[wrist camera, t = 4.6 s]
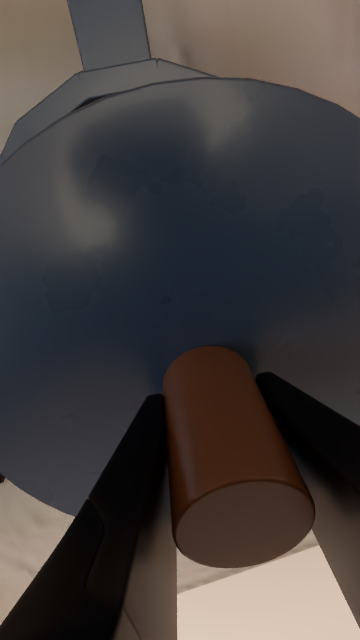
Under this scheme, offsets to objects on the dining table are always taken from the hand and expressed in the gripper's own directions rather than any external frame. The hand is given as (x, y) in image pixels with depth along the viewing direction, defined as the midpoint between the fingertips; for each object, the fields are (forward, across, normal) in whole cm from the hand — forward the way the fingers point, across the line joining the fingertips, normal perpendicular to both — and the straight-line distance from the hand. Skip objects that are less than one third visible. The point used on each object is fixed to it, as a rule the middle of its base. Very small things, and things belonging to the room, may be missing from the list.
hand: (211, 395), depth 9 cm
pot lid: (+1, 0, 0) cm, 1 cm away
